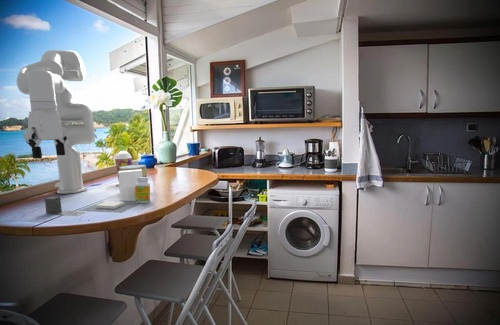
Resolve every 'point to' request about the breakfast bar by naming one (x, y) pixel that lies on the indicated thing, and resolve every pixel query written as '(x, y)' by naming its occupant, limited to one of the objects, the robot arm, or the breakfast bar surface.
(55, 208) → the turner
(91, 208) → the mat
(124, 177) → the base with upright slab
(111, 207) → the tile
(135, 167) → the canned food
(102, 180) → the breakfast bar surface
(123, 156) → the smoothie
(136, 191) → the supplement bottle
